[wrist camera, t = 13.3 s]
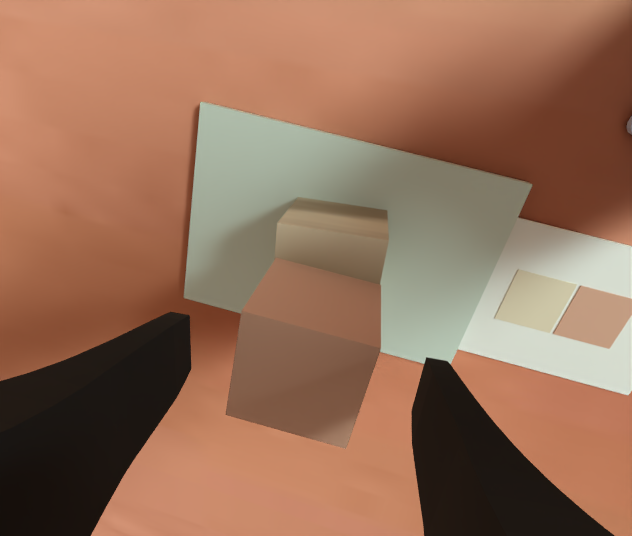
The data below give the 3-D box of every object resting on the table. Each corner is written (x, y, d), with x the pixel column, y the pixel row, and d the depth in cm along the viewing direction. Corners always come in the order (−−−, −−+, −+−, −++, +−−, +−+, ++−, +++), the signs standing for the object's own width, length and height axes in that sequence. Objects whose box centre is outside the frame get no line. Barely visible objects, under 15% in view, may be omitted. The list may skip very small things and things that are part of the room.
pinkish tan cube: (276, 257, 16) (241, 310, 12) (380, 284, 16) (381, 348, 12) (259, 343, 18) (225, 414, 14) (354, 369, 18) (345, 448, 14)
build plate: (205, 101, 19) (200, 101, 19) (528, 181, 19) (532, 184, 18) (188, 293, 24) (183, 298, 23) (446, 363, 23) (447, 370, 23)
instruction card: (490, 210, 19) (491, 211, 19) (717, 267, 19) (721, 269, 19) (434, 341, 23) (435, 343, 23) (626, 393, 22) (628, 396, 22)
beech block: (298, 196, 20) (276, 223, 16) (387, 210, 20) (388, 240, 15) (290, 276, 22) (269, 318, 18) (371, 290, 21) (369, 336, 17)
